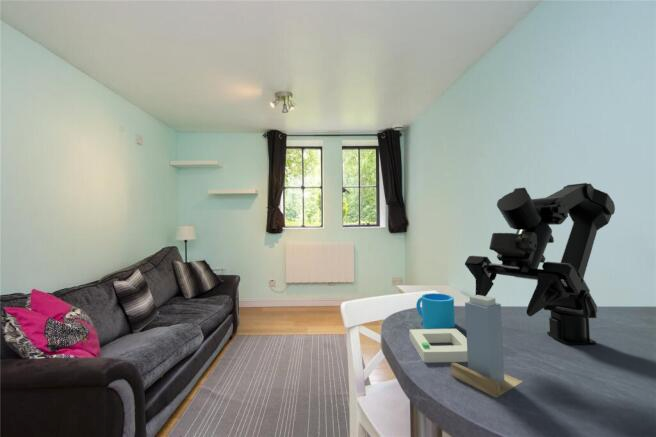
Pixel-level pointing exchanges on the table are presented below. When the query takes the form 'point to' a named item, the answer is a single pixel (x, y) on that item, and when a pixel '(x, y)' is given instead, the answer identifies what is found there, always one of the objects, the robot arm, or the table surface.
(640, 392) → the table surface
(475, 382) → the tan base plate
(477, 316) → the plug
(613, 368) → the table surface
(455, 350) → the block
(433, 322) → the mug
